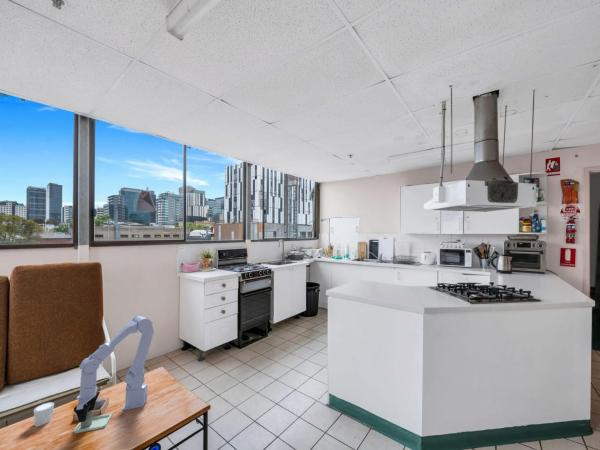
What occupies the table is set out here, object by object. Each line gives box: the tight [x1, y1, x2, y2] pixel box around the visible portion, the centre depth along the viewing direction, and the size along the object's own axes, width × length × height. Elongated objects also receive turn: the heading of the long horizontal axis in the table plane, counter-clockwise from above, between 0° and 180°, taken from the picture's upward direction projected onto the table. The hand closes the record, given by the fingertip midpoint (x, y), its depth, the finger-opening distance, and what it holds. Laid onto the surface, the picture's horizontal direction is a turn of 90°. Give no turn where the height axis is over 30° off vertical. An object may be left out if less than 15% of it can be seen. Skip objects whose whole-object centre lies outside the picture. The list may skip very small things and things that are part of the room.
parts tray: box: [72, 412, 114, 435], centre depth 116 cm, size 12×9×1 cm
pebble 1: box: [81, 411, 93, 428], centre depth 115 cm, size 4×4×5 cm
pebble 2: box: [93, 397, 105, 410], centre depth 125 cm, size 4×4×5 cm
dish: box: [72, 398, 110, 422], centre depth 124 cm, size 11×9×3 cm
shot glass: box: [33, 401, 55, 427], centre depth 118 cm, size 7×7×7 cm
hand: (86, 415), depth 116 cm, fingers open, 7 cm apart
